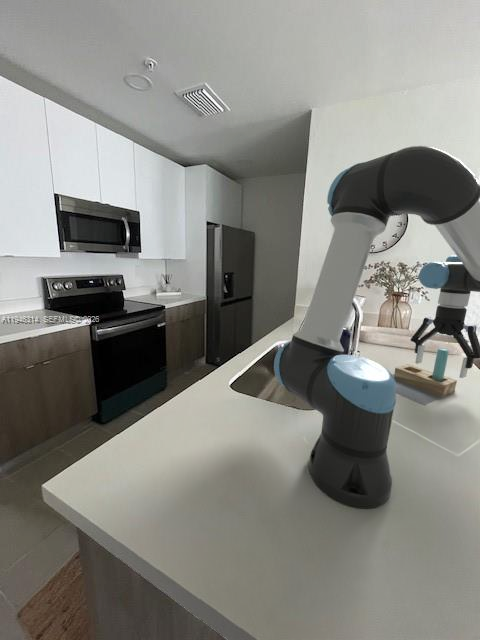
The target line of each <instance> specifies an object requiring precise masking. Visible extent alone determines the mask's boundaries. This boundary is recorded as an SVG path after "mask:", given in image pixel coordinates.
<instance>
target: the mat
mask: <svg viewBox="0 0 480 640" xmlns="http://www.w3.org/2000/svg"><path fill="white" fill-rule="evenodd" d="M392 375H393V377H394V373H392ZM394 380H395V382H396V395H399V396H402V397H404V398H407V399H408V400H411V401H412V402H415V403H417V404H420V405H423V406H426V405H427V406H428V405H429V404H431V403H433V402H435V401H437V400H440V399H441V398H443V397H441V396H439V395H436V394H434V393H431V392H428V391H426V390H423V389H421V388H418V387H416V386H413V385H411V384H408V383H406V382H403V381H400V380H398V379H395V378H394ZM451 394H452V393H450V394H448V395H447V396H449V395H451Z"/></svg>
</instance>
